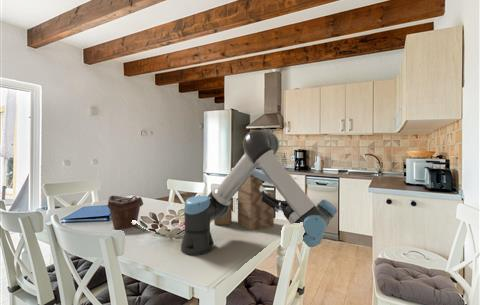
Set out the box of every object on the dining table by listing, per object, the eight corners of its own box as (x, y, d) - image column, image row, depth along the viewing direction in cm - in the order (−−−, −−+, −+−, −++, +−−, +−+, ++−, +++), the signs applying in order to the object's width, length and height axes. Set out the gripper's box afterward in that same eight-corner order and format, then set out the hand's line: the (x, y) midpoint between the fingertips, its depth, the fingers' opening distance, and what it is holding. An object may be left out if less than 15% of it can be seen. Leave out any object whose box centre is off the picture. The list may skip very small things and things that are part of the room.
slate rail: (270, 183, 134) (271, 177, 133) (237, 169, 151) (237, 163, 150) (274, 182, 136) (275, 176, 135) (241, 168, 153) (241, 163, 152)
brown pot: (148, 224, 149) (147, 195, 149) (112, 232, 136) (111, 200, 136) (137, 218, 163) (137, 191, 162) (103, 225, 149) (103, 196, 149)
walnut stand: (250, 229, 140) (250, 174, 140) (237, 222, 154) (237, 172, 154) (273, 225, 148) (273, 173, 147) (259, 218, 162) (259, 171, 161)
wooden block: (216, 220, 159) (216, 189, 158) (231, 220, 158) (231, 189, 158) (213, 225, 149) (213, 192, 148) (230, 225, 149) (230, 192, 148)
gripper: (269, 225, 108) (249, 194, 124) (312, 218, 120) (288, 190, 136) (274, 213, 105) (252, 182, 121) (318, 206, 116) (293, 179, 132)
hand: (271, 186), depth 128 cm, fingers open, 13 cm apart
